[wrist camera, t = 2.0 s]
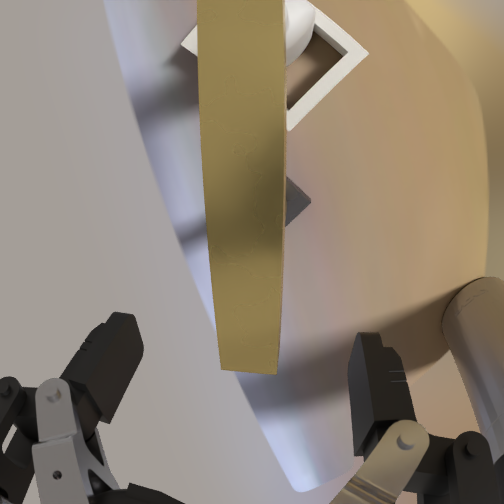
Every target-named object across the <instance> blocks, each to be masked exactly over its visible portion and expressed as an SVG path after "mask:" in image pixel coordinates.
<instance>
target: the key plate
mask: <svg viewBox="0 0 504 504" xmlns="http://www.w3.org/2000/svg"><path fill="white" fill-rule="evenodd" d="M286 201H287V210H286V219H285V227H286V226H287V225H288V224H289V223H290V222H291V221H292V220H293V219H294V218H295V217H296V216H297V215H299V214H300V213H301V212H302V211H303V210H304V209H305V208H306V207H307V206H308V205H309V204H310V203H311V199H310V198H309V197H308V196H307V195H306V194H305V193H304V192H303V191H302V190H301V189H300V188H299V187H298V186H296V185H295V184H294V183H293V182H292V181H291V180H290V179H289V178H288V177H287V176H286Z"/></svg>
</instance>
